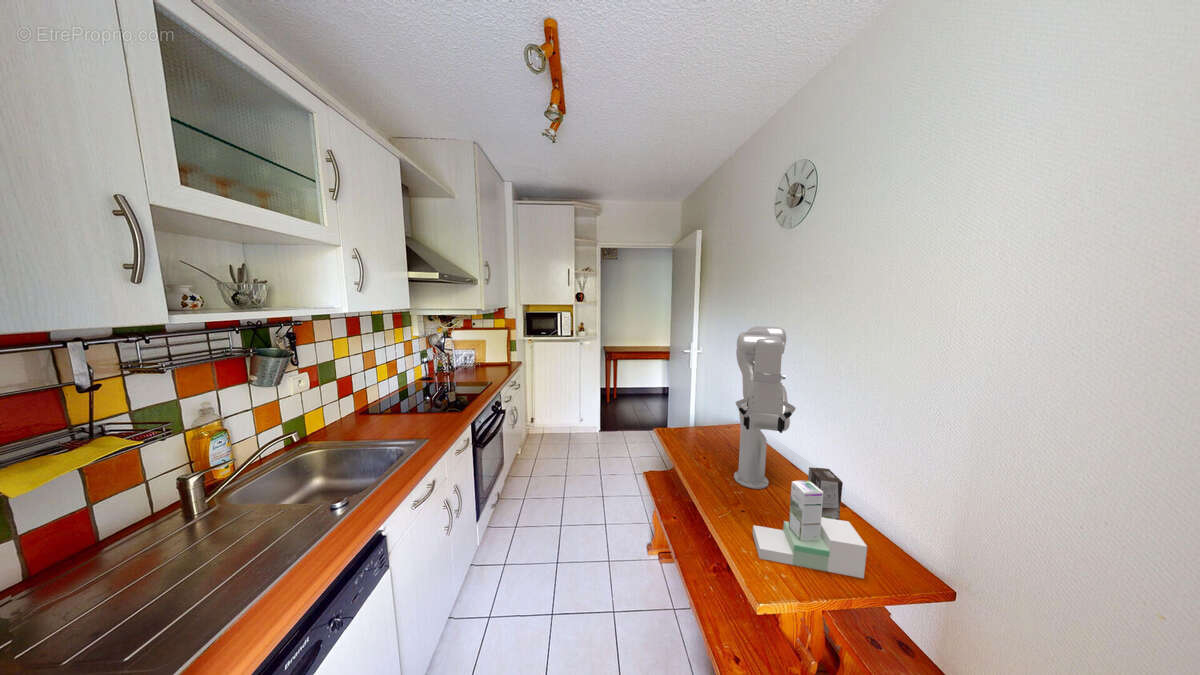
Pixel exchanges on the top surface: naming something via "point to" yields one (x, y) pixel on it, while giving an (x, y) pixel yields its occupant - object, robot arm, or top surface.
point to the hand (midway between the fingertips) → (763, 429)
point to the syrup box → (805, 510)
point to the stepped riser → (815, 548)
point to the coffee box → (827, 490)
